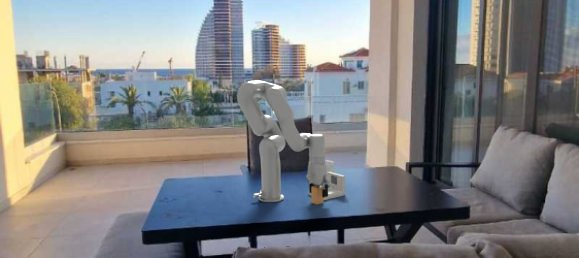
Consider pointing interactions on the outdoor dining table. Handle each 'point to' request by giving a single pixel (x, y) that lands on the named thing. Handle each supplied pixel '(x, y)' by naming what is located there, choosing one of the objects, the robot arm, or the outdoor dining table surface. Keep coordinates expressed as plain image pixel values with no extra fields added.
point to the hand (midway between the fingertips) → (318, 194)
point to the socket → (335, 185)
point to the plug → (316, 194)
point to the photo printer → (329, 166)
